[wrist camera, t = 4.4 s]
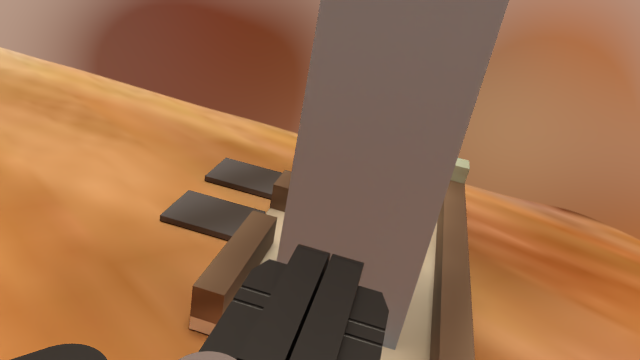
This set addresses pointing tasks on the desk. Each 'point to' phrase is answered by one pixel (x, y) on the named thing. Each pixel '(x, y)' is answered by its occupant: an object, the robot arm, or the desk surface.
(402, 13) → the block
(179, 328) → the desk surface
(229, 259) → the trap lane
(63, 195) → the desk surface
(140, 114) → the desk surface
